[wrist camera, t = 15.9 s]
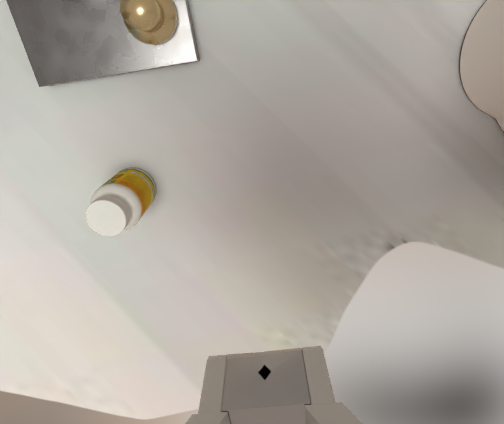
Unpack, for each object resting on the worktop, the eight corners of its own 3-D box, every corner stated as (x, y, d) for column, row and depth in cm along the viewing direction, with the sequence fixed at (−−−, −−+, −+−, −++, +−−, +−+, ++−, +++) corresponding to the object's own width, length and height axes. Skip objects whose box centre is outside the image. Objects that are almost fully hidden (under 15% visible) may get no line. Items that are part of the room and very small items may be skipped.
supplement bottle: (140, 214, 43) (113, 252, 35) (105, 188, 42) (67, 221, 33) (165, 185, 42) (143, 217, 33) (130, 157, 40) (96, 182, 32)
